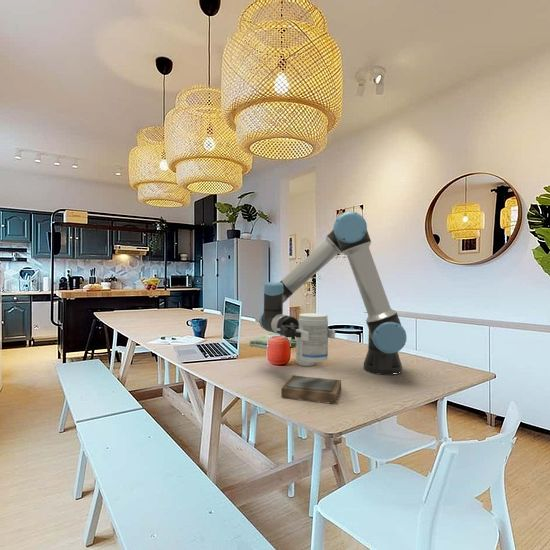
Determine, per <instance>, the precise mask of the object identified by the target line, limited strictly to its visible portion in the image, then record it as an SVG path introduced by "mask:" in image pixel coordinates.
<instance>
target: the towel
mask: <svg viewBox="0 0 550 550" xmlns="http://www.w3.org/2000/svg"><path fill="white" fill-rule="evenodd" d="M272 336H280V334H277V333H273V332H270V333H267V334H265V335H261V336H259V337H256V338H253V339H251V340H250V341H249V345H250V346H251V347H256V348H263V349H267V341H268V338H270V337H272ZM289 340H290V344H291V348H294V347H296V342H297V338H296V337H295V340H292V339H291V337H289Z"/></svg>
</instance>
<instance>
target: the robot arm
mask: <svg viewBox="0 0 550 550" xmlns="http://www.w3.org/2000/svg"><path fill="white" fill-rule="evenodd" d="M371 244H372V239H371V238H370V234H369V231H368V225H367V221H366V219H365V218H364V216H362V215H361V213H358V212H355V211H345V212H343V213H341V214H340V215H339V216H338V217H337V218H336V219H335V221H334V223H333V229H332V230H331V231H330V232H329V233H328V234H327V235H326V236H325V240H324V241H323V242H322V243H321V244H320V245H319V246H318V247H317V248H316V249H315V250H313V251H312V252H311V253H310V254H309V255H308V256H307V257H305V258H304V259H303V260H302V261H301V262H300V263H299V264H297V266H296V267H295V268H293V270H291V271H290V272H289V273H288V274H286V276H284V277H283V278H282V279H281V280H280V281H279V282H276V281H272V282H270V281H269V282H268V281H267V282H265V283H264V287H263V288H264V289H263V312H262V313H261V315H260V316H259V319H258V323H259V326H260V327H261V328H262V329H263V330H265V331H267V332H270V333H275V334H280V336H285V337H287V338H288V337H291V339H292V340H295V338H298V339H301V340H304V341H309V332H306V331H302V330H299V320H298V319H297V318H296V317H294V316H291V315H286V314H283V313H284V303H285V302H286V301H287V300H288V299H289V298H290V297H291V296H292V295H293V294H295V293H296V292H297V291H298V290H299V289H300V288H301V287H303V286H304V285H305V284H306V283H307V282H308V281H309V280H310V279H311V278H313V277H314V275H316V274H317V273H318V272H319V271H320V270H321V269H322V268H324V267H325V266H326V265H327V264H329V262H330V261H331V260H333V259H334V257H336V256H337V255H339V254H340V255H341V254H344V255H346V257H347V259H348V260H347V261H348V262H349V265H350V269H351V270H352V274H353V276H354V280H355V282H356V286H357V288H358V290H359V293H360V296H361V299H362V302H363V305H364V308H365V310H366V313H367V318H366V319H365V322H366V325H367V328H368V346H367V347H368V349H367V352H366V355H365V358H364V360H363V370H364V369H365V370H364V371H366V372H368V371H369V373H372V372H373V373H372V374H376V373H380V374H379V375H385V374H393V373H399V372H401V371H402V372H403V364H402V361H401V359H400V358H401V357H400V355H399V352H400V351H401V350H402V349H403V348H404V347H405V345H406V343H407V332H406V329H405V328H404V327H403V326H402V324H401V323H402V322H401V320H400V318H399V315H398V312H397V310H395V309H392V308H391V305H390V302H389V300H388V297H387V295H386V292H385V289H384V285H383V283H382V280H381V277H380V274H379V272H378V269H377V266H376V263H375V261H374V258H373V255H372V253H371V250H370V246H371ZM328 339H332V340H335V339H336V330H334V329H330V328H328ZM402 372H401V373H402ZM399 374H400V373H399ZM393 375H394V374H393Z"/></svg>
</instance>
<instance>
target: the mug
mask: <svg viewBox="0 0 550 550" xmlns="http://www.w3.org/2000/svg"><path fill="white" fill-rule="evenodd" d="M298 345H299V339H298V338H297V342H296V346H295V347H296V348H295V349H296V351H295V352H296V353H295V355H296V356H295V361H296V363H297V365H299V366H302V367H313V366H315V365H316V364H317V363H318V362H307V361H302V360H300V359H299V357H298V347H299V346H298Z"/></svg>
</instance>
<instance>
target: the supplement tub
mask: <svg viewBox="0 0 550 550" xmlns="http://www.w3.org/2000/svg"><path fill="white" fill-rule="evenodd" d="M298 317H299V318H298V322H299V330H302V331H306V332H309V341H304V340H301V339H299V345H298V346H299V347H298V357H299V359H300V360H302V361H307V362H317V363H323V362H325V361H327V360H328V357H329V356H328V353H329V352H328V351H329V350H328V348H329V347H328V346H329V344H328V343H329V338H328V329H329V320H328V319H329V318H328V314H324V313H316V312H315V313H312V312H311V313H307V312H306V313H305V312H304V313H299V314H298Z"/></svg>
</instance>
